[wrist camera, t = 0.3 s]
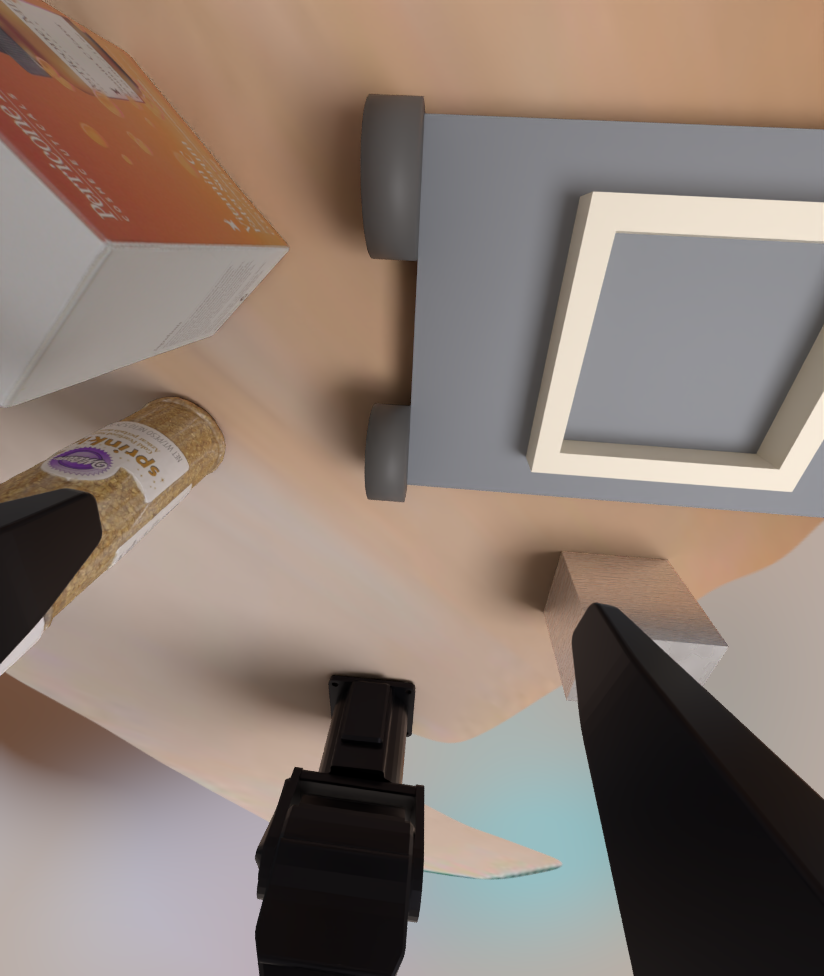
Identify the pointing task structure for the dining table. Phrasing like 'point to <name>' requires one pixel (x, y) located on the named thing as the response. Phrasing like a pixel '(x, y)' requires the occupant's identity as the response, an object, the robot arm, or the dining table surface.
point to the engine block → (631, 610)
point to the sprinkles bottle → (124, 483)
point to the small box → (106, 213)
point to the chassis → (602, 308)
